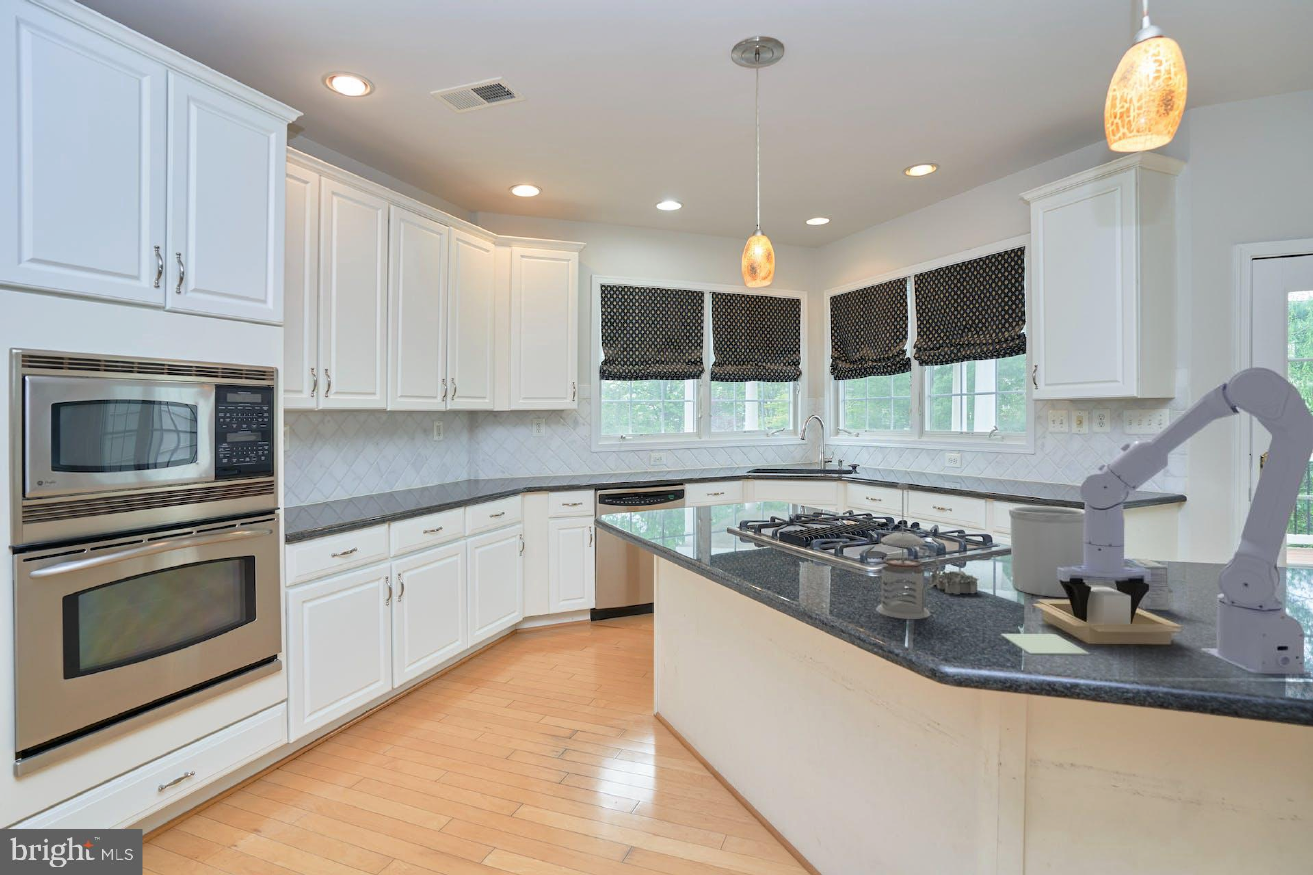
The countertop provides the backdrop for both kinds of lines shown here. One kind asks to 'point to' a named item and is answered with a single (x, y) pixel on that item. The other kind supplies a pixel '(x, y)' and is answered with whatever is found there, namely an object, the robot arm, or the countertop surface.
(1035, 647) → the mat
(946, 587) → the egg carton
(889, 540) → the french press
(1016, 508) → the utensil holder
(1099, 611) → the grey box
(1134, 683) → the countertop surface
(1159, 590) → the medicine box
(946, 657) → the countertop surface
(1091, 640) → the tan flat tray
